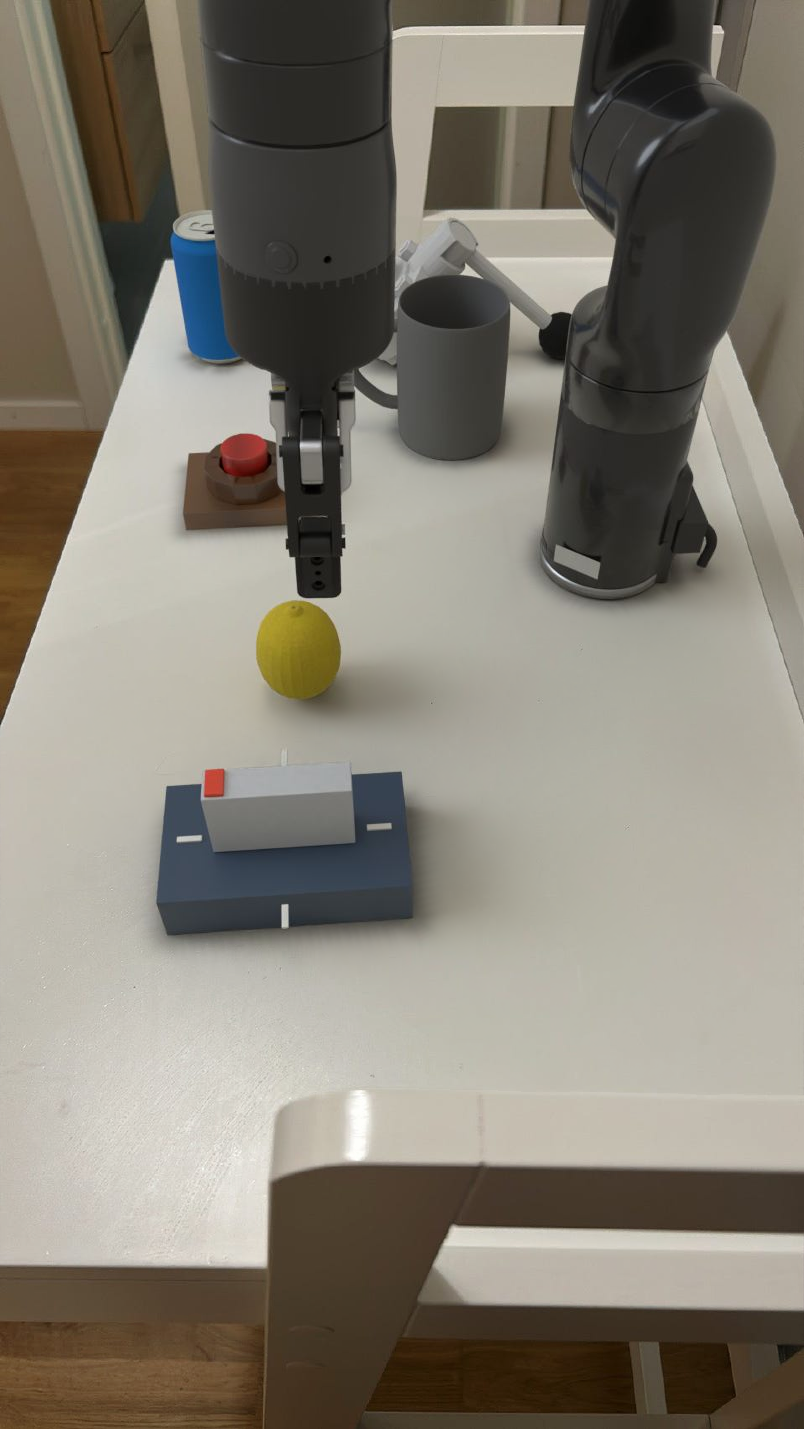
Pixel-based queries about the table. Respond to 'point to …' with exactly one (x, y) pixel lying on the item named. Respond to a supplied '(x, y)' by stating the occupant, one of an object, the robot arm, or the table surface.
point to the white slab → (278, 806)
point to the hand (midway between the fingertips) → (319, 539)
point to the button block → (231, 494)
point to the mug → (449, 366)
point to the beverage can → (200, 287)
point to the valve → (459, 247)
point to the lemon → (298, 649)
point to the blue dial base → (286, 868)
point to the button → (244, 455)
